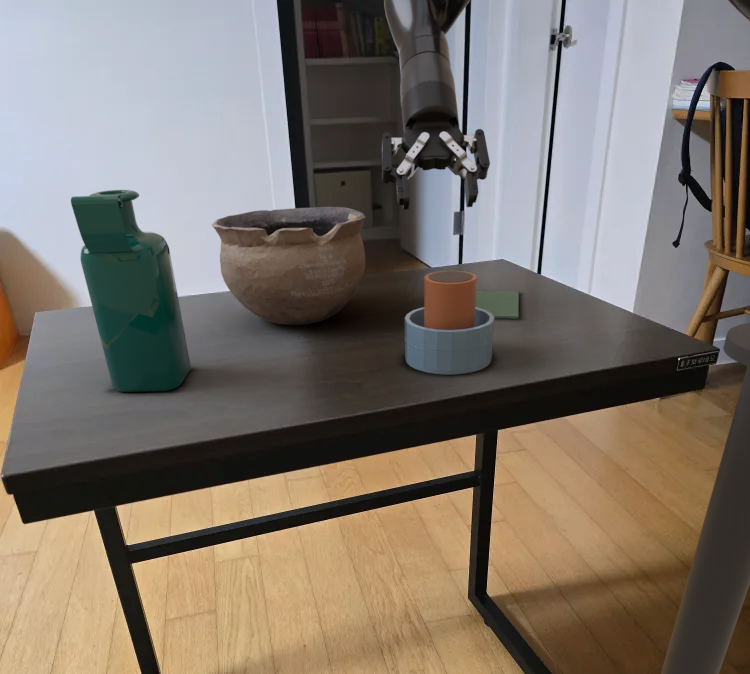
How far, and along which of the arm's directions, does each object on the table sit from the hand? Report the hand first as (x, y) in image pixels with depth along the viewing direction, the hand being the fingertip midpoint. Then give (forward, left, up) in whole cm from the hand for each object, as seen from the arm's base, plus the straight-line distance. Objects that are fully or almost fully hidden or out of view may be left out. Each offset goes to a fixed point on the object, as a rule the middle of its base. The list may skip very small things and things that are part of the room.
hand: (438, 204), depth 88 cm
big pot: (-3, +11, -17) cm, 21 cm away
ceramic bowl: (+22, -5, -17) cm, 29 cm away
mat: (-5, -14, -17) cm, 23 cm away
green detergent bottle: (+33, +23, -17) cm, 44 cm away
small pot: (-3, +11, -17) cm, 20 cm away
